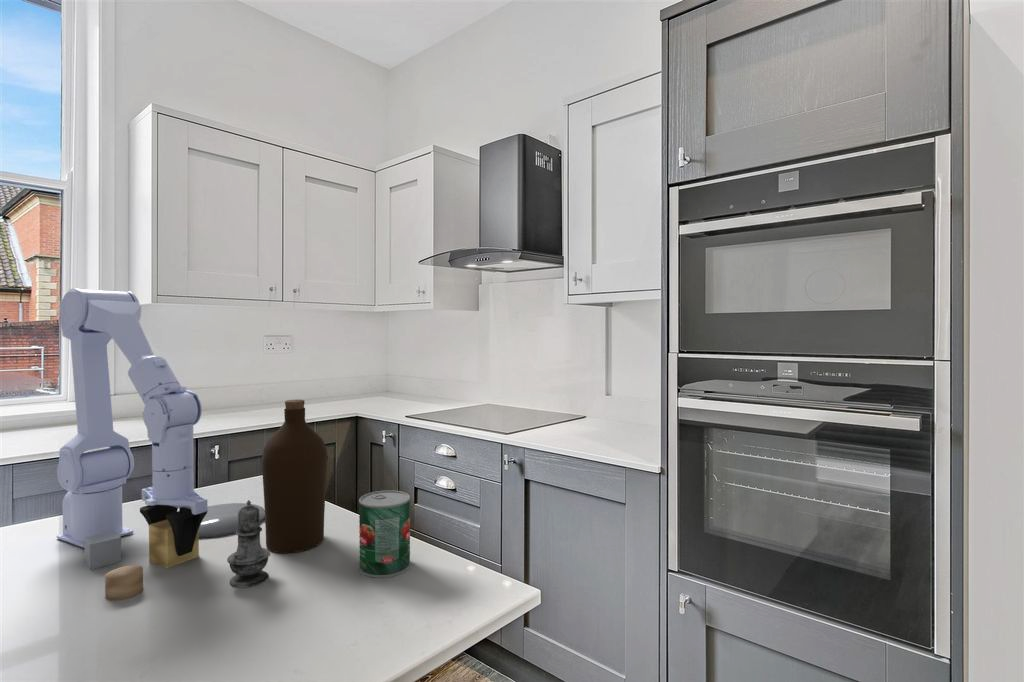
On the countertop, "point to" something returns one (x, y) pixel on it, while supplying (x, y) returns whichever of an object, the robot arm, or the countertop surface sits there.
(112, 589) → the oak cylinder
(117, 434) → the robot arm
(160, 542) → the ochre block
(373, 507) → the canned tomato
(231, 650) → the countertop surface
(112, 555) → the slate grey block
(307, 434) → the olive oil
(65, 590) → the countertop surface
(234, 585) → the salt shaker
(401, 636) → the countertop surface
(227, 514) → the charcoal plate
